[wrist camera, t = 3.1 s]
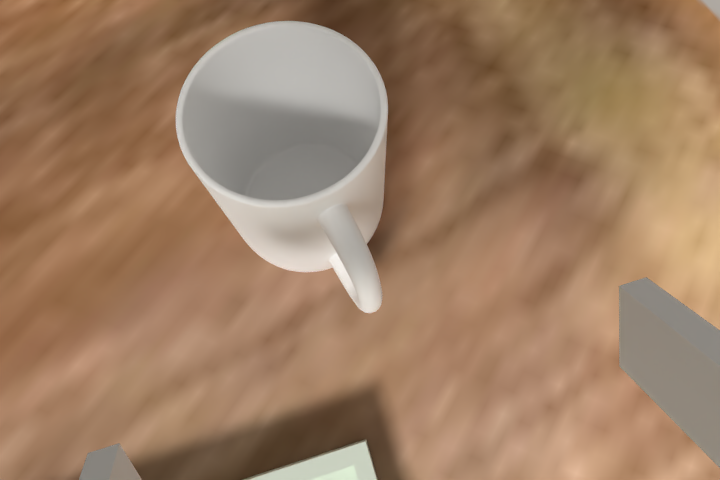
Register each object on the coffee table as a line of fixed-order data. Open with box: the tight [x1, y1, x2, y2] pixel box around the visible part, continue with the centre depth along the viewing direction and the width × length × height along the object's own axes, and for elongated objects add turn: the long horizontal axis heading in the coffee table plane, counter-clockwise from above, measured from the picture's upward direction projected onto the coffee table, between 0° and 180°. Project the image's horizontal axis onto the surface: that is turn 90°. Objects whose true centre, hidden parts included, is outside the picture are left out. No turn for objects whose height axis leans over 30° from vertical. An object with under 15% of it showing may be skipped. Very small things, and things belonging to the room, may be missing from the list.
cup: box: [176, 21, 388, 313], centre depth 25 cm, size 8×12×10 cm
